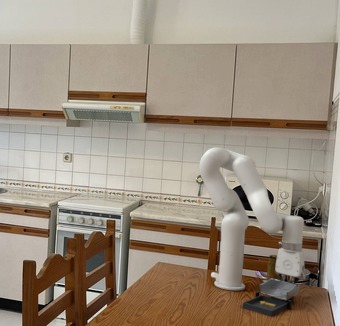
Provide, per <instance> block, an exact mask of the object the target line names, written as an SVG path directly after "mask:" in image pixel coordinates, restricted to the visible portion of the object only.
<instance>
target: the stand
mask: <svg viewBox="0 0 340 326" xmlns="http://www.w3.org/2000/svg"><path fill="white" fill-rule="evenodd" d="M254 295H255V296H254V298H255V297H257V296H260V295H261V292H260V290H257V291H256V292H255V294H254ZM294 297H295V295H294V296H293V297H291V298H290V299H288V300H287V301H285V300H281V299H278V298H274V297H271V298H274V299H278V300H281V301H285V302H288V303H287V308H286V310H291V309H292V303H294Z"/></svg>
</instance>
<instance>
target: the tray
mask: <svg viewBox="0 0 340 326" xmlns="http://www.w3.org/2000/svg"><path fill="white" fill-rule="evenodd" d="M260 301H264V302H266V303H270V304H274V305H276V306H275V307H273V306H269V305H265V304H261V303H260ZM287 303H288V302H285V301H281V300H278V299H274V298H271V297H270V296H267V295H263V294H260V295H259V296H257V297H255V296H254V297H253V298H251V299H248V300H246V301H243V302H242V308H243V309H246V310H250V311H253V312H257V313H259V314H263V315H267V316H269V317H273V316H275V315H277V314H278V313H281V312H282V311H285V310H287Z"/></svg>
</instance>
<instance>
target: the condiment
mask: <svg viewBox="0 0 340 326" xmlns="http://www.w3.org/2000/svg"><path fill="white" fill-rule="evenodd" d="M277 255H278V254H270V255H269V257H268V261H267V270H266V280H265V279H264V280H261V281H262V282H263V283H264V282H266V281H268V280H269V279H271V278H273V279H277V280H281V281H282V279H281V278H280V276H279V275H277V274H276V273H275V268H276V260H277Z"/></svg>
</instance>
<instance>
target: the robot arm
mask: <svg viewBox="0 0 340 326" xmlns="http://www.w3.org/2000/svg"><path fill="white" fill-rule="evenodd" d="M198 164H199V165H198V169H199V175H200V177H201V180H202V182H203V184H204V187H205V189H206V191H207V193H208V196H209V197H210V200H211V202H212V205H213V206H214V209H216V210H218V211H220V212H221V213H222V215H223V218H222V220H221V225H220V253H219V264H218V265H219V266H218V272H214V271H212V272H211V274H210V278H213V279H215V280H214V283H213V284H214V286H215V287H216V288H218V289H222V290H226V291H235V292H236V291H244V290H245V289H246V285H245V284H244V283H243V269H244V257H245V240H246V239H245V237H246V236H245V235H246V230H247V229H248V227H249V224H250V219H249V216H248V213H247V211H246V209H245V207H244V205H243V203H242V201H241V199H240V196H239V195H238V193H237V192H236V191H235V190H234V189H232V188H231V187H229V186H228V184H227V182H226V180H225V177H224V175H223V174H222V172H221V168H222V169H224V170H227V171H231V172H233V173H234V175H235V177H236V179H237V181H238V182H239V184H240V186H241V188H242V191H244V193H245V195H246V198H247V200H248V203H249V205H250V208H251V209H252V211H253V214H254V216H255V218H256V220H257V221H258V223H259V225H260V227H261V228H262V230H263V231H264V232H265V233H267V234H270V235H275V234H277V233H279V232H282V237H281V241H278V245H279V246H281V247H279V249H278V252H277V254H276V255H277V260H276V268H275V273H276V274H277V275H279V276H280V278H281V281H285V282H287V281H288V277H291V278H290V280H291V283H293V284H297V282H299V281H304V280H306V276H305V255H304V251H303V250H302V249H303V239H304V225H305V221H304V218H303V217H301V216H299V215H287V214H282V213H278V212H276V211H275V209H274V207H273V205H272V203H271V201H270V199H269V198H270V197H269V192H268V189H267V186H266V184H265V183H264V180H263V179H262V177H261V175H260V174H259V172H258V170H257V168H256V167H257V166H256V162H255V160H254V158H252V157H251V156H249V155H246V154H242V153H238V152H236V151H233V150H230V149H228V148H224V147H210V148H209V149H208V150H206V151H205V152H204V153H203V155H202V156H201V158H200V161H199V163H198ZM285 290H286V289H285Z"/></svg>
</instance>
